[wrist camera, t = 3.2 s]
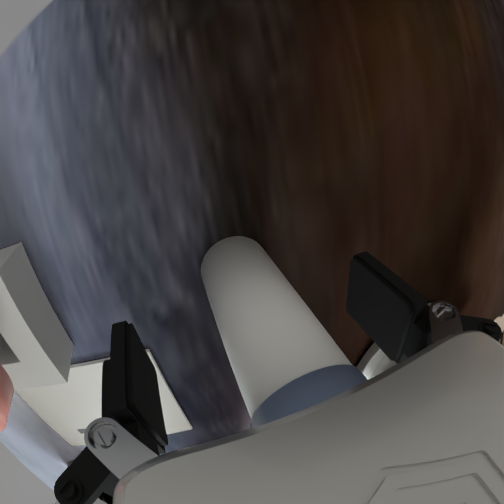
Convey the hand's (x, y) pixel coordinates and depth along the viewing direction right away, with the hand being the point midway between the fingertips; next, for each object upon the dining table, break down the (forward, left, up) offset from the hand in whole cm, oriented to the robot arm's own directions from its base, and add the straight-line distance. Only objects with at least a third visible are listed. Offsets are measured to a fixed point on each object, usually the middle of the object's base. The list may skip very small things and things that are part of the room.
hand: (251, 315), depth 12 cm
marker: (0, 0, -5) cm, 5 cm away
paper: (+12, +9, -5) cm, 16 cm away
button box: (+14, -1, -5) cm, 14 cm away
